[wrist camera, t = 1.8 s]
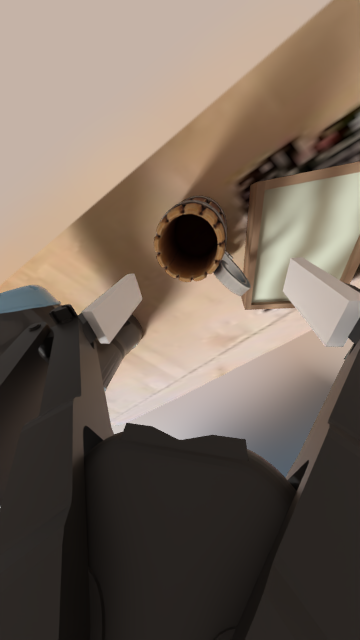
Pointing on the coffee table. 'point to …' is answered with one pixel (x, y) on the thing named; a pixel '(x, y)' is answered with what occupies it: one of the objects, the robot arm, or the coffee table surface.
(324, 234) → the framed mirror
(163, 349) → the coffee table surface
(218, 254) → the mug
